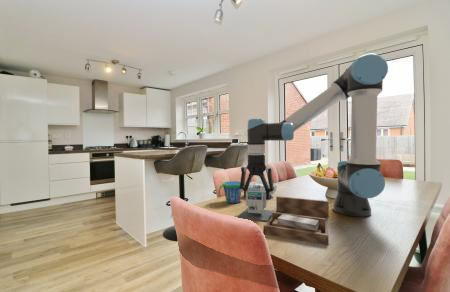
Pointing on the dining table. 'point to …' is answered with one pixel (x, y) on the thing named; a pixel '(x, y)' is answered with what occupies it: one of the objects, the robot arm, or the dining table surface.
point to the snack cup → (231, 191)
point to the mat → (256, 215)
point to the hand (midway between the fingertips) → (256, 205)
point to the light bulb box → (256, 198)
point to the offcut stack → (297, 223)
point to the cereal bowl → (268, 186)
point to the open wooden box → (304, 210)
